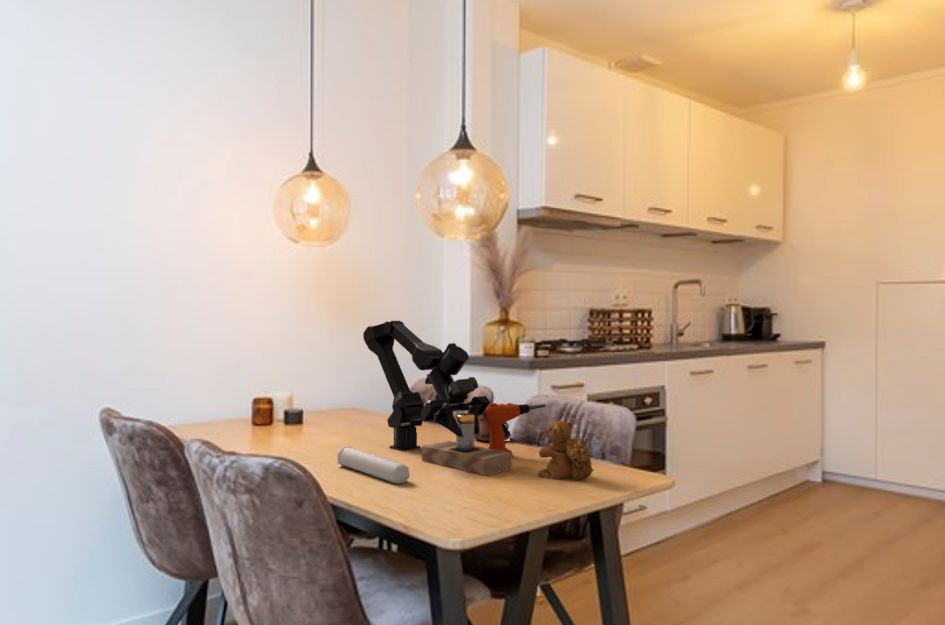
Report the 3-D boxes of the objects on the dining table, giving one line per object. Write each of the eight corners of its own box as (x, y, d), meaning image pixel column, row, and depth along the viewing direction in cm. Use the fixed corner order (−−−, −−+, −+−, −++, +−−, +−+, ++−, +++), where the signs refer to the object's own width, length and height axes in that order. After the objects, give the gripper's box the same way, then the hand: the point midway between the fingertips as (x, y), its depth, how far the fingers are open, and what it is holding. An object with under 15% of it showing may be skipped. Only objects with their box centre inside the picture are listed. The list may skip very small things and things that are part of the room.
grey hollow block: (422, 461, 179) (422, 445, 179) (449, 455, 187) (449, 440, 187) (484, 475, 164) (484, 458, 164) (511, 469, 171) (511, 453, 171)
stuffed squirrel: (558, 469, 172) (559, 416, 172) (604, 479, 162) (605, 423, 162) (531, 475, 166) (532, 420, 166) (578, 486, 155) (578, 428, 155)
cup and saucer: (488, 435, 219) (488, 416, 219) (518, 440, 211) (519, 420, 211) (463, 440, 210) (464, 420, 210) (494, 445, 202) (494, 424, 202)
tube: (416, 466, 157) (357, 448, 176) (398, 461, 154) (340, 443, 172) (410, 489, 156) (351, 468, 175) (392, 485, 153) (334, 464, 171)
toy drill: (553, 450, 188) (547, 396, 188) (488, 462, 183) (481, 406, 183) (546, 446, 193) (541, 393, 192) (482, 458, 188) (476, 404, 187)
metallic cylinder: (454, 467, 174) (454, 415, 174) (458, 463, 178) (459, 413, 178) (472, 468, 173) (472, 416, 173) (476, 464, 177) (476, 413, 177)
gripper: (427, 368, 173) (452, 418, 164) (486, 365, 184) (512, 412, 175) (410, 396, 179) (433, 445, 170) (468, 391, 190) (492, 438, 182)
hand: (469, 434), depth 174 cm, fingers open, 5 cm apart
